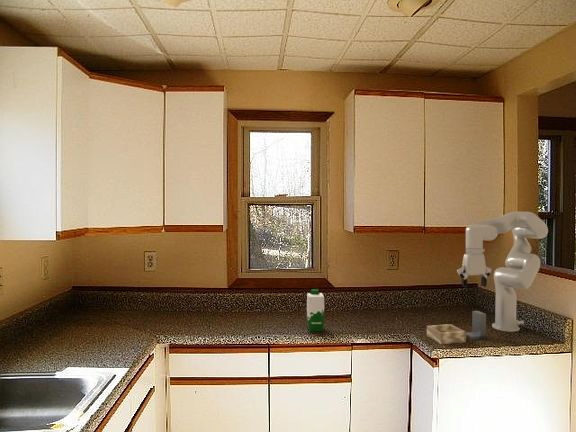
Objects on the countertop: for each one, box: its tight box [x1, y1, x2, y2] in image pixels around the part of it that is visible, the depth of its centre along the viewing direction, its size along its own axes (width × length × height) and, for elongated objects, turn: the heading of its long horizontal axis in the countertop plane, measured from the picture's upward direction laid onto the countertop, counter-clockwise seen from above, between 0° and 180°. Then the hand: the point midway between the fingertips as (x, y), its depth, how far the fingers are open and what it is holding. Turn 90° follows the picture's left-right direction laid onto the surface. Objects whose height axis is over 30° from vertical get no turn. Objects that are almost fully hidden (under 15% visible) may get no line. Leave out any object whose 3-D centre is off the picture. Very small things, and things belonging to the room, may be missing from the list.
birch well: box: [426, 323, 467, 345], centre depth 191 cm, size 13×12×5 cm
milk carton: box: [306, 288, 325, 332], centre depth 206 cm, size 9×9×20 cm
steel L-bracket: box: [466, 310, 487, 341], centre depth 193 cm, size 8×6×12 cm
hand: (474, 286), depth 194 cm, fingers open, 9 cm apart
